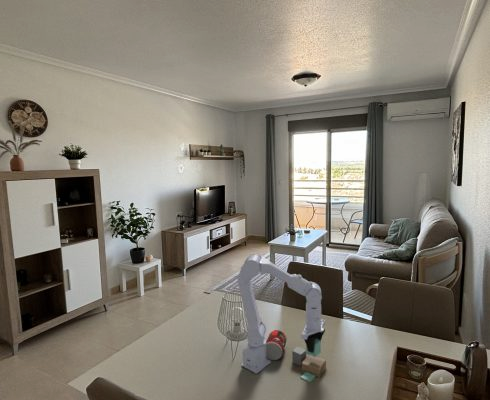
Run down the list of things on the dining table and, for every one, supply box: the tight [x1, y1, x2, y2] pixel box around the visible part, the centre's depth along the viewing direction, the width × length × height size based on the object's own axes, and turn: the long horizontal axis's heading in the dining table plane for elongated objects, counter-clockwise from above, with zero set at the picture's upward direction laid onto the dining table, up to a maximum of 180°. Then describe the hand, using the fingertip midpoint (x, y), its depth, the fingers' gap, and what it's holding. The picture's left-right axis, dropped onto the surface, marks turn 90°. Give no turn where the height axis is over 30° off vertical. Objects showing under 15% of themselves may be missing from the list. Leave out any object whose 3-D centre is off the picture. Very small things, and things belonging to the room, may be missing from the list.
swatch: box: [300, 372, 316, 383], centre depth 119 cm, size 4×4×1 cm
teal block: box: [305, 339, 322, 357], centre depth 123 cm, size 4×4×5 cm
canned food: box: [266, 329, 288, 361], centre depth 135 cm, size 8×8×11 cm
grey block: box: [291, 346, 307, 367], centre depth 128 cm, size 4×4×5 cm
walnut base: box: [301, 354, 327, 378], centre depth 123 cm, size 7×7×4 cm
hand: (313, 349), depth 123 cm, fingers closed on teal block, 4 cm apart
